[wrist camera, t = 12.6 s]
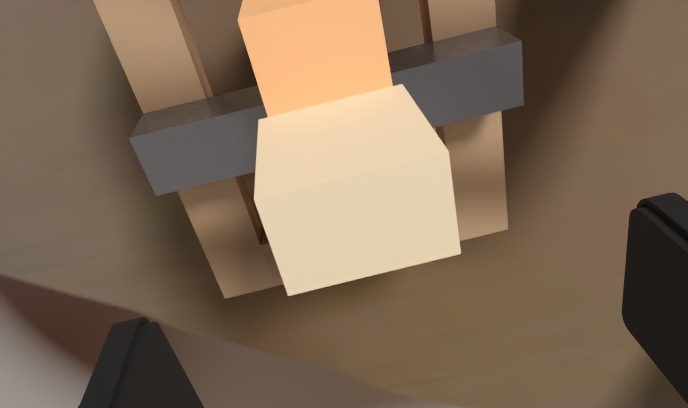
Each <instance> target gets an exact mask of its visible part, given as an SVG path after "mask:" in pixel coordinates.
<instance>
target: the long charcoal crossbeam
mask: <svg viewBox="0 0 688 408" xmlns="http://www.w3.org/2000/svg"><path fill="white" fill-rule="evenodd" d="M387 54H388V60H389V66H390V72H391V78H392V84H393V86H396V85H400V84H403V86H404V87H405V89H406V90H407V91H408V93H409V94H410V96H411V97H412V99H413V100H414V102H415V103H416V105H417V106H418V107H419V109H420V110H421V112H422V113H423V115H424V116H425V118H426V119H427V121H428V122H429V123H430V125H431V126H432V128H434V127H438V126H442V125H446V124H450V123H455V122H459V121H463V120H467V119H471V118H475V117H479V116H483V115H487V114H491V113H495V112H499V111H503V110H507V109H511V108H515V107H519V106H523V105H524V91H523V61H522V41H521V40H520V39H518V38H516V37H514V36H513V35H511V34H509V33H508V32H506V31H504V30H503V29H501V28H499V27H497V26H494V27H490V28H486V29H482V30H478V31H474V32H470V33H466V34H462V35H458V36H454V37H450V38H446V39H441V40H437V41H433V42H429V43H425V44H421V45H417V46H413V47H409V48H405V49H401V50H397V51H393V52H389V53H387ZM267 117H268V116H267V113H266V110H265V106H264V103H263V100H262V97H261V94H260V90H259V87H258V85H256V86H252V87H248V88H244V89H240V90H236V91H232V92H228V93H224V94H220V95H216V96H212V97H208V98H204V99H200V100H196V101H192V102H188V103H184V104H180V105H176V106H172V107H168V108H164V109H160V110H156V111H151V112H147V113H143V115H142V116H141V118H140V120H139V121H138V123H137V125H136V127H135V128H134V130H133V132H132V133H131V135H130V137H129V140H130V142H131V144H132V146H133V149H134V151H135V153H136V155H137V157H138V159H139V161H140V163H141V166H142V168H143V170H144V172H145V174H146V176H147V178H148V181H149V183H150V185H151V187H152V189H153V191H154V193H155V195H156V196H159V195H163V194H167V193H171V192H175V191H179V190H183V189H187V188H191V187H196V186H200V185H204V184H208V183H212V182H216V181H220V180H224V179H228V178H232V177H236V176H240V175H244V174H248V173H252V172H255V171H256V154H257V136H258V120H259V119H263V118H267Z"/></svg>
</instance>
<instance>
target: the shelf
mask: <svg viewBox="0 0 688 408" xmlns="http://www.w3.org/2000/svg"><path fill="white" fill-rule="evenodd" d="M93 1H94V4H95V6H96V8H97V10H98V13H99V15H100V17H101V19H102V22H103V24H104V26H105V28H106V31H107V33H108V35H109V37H110V40H111V42H112V44H113V47H114V49H115V51H116V53H117V56H118V58H119V60H120V62H121V65H122V67H123V69H124V71H125V74H126V76H127V78H128V80H129V83H130V85H131V87H132V90H133V92H134V94H135V96H136V99H137V101H138V103H139V105H140V108H141V110H142V112H143V113H147V112H151V111H156V110H160V109H164V108H168V107H172V106H176V105H180V104H184V103H188V102H192V101H196V100H200V99H204V98H208V97H212V96H213V93H212V90H211V88H210V85H209V82H208V79H207V76H206V74H205V71H204V68H203V65H202V63H201V60H200V57H199V54H198V51H197V49H196V46H195V43H194V40H193V38H192V35H191V32H190V29H189V26H188V24H187V21H186V18H185V15H184V13H183V10H182V7H181V4H180V1H179V0H93ZM419 3H420V11H421V18H422V26H423V34H424V42H425V43H429V42H433V41H437V40H441V39H446V38H450V37H454V36H458V35H462V34H466V33H470V32H474V31H478V30H482V29H486V28H490V27H494V26H496V11H495V0H419ZM433 129H434V131H435V132H436V134H437V135H438V136H439V138H440V139H441V141H442V142H443V144H444V145H445V147H446V148H447V150H448V151H449V157H450V166H451V174H452V182H453V191H454V199H455V208H456V216H457V225H458V233H459V241H462V240H466V239H471V238H475V237H479V236H483V235H487V234H491V233H495V232H499V231H503V230H507V229H508V219H507V202H506V185H505V167H504V150H503V133H502V115H501V111H499V112H495V113H491V114H487V115H483V116H479V117H475V118H471V119H467V120H463V121H459V122H455V123H450V124H446V125H442V126H438V127H434V128H433ZM254 188H255V172H252V173H248V174H244V175H240V176H236V177H232V178H228V179H224V180H220V181H216V182H212V183H208V184H204V185H200V186H196V187H191V188H187V189H183V190H179V191H178V194H179V196H180V198H181V200H182V203H183V205H184V207H185V209H186V212H187V214H188V216H189V218H190V221H191V223H192V225H193V228H194V230H195V232H196V234H197V237H198V239H199V241H200V243H201V246H202V248H203V250H204V252H205V255H206V257H207V259H208V261H209V264H210V266H211V268H212V271H213V273H214V275H215V277H216V280H217V282H218V284H219V286H220V289H221V291H222V293H223V295H224V298H225V299H226V298H230V297H234V296H238V295H242V294H247V293H251V292H255V291H259V290H263V289H267V288H271V287H275V286H279V285H283V284H284V283H283V280H282V277H281V274H280V272H279V269H278V266H277V263H276V260H275V258H274V255H273V252H272V249H271V246H270V243H269V241H268V238H267V235H266V232H265V229H264V227H263V224H262V221H261V218H260V215H259V213H258V210H257V207H256V204H255V201H254Z"/></svg>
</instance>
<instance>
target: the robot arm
mask: <svg viewBox="0 0 688 408" xmlns="http://www.w3.org/2000/svg"><path fill="white" fill-rule="evenodd" d="M622 317H623V320H624V323H625V325H626V327H627V329H628V330H629V332H630V333H631V334H632V335H633V337H634V338H635V339H636V340H637V342H638V343H639V344H640V345H641V347H642V348H643V349H644V350H645V352H646V353H647V354H648V355H649V357H650V358H651V359H652V360H653V362H654V363H655V364H656V365H657V367H658V368H659V369H660V370H661V372H662V373H663V374H664V375H665V376H666V378H667V379H668V380H669V381H670V383H671V384H672V385H673V386H674V388H675V389H676V390H677V391H678V393H679V394H680V395H681V396H682V398H683V399H684V400H685V401H686V403H687V404H688V201H686V200H685V199H684V198H682V197H681V196H680V195H678V194H676V193H667V194H663V195H658V196H654V197H650V198H646V199H642V200H640V201H639V203H638V204H637V208H636V209H633V210H632V211H631V212H630V216H629V229H628V241H627V253H626V266H625V278H624V290H623V303H622ZM78 408H204V407H203V405H202V403H201V401H200V399H199V397H198V396H197V394H196V392H195V390H194V388H193V386H192V384H191V383H190V381H189V379H188V377H187V375H186V373H185V371H184V370H183V368H182V366H181V364H180V362H179V360H178V359H177V357H176V355H175V353H174V351H173V349H172V347H171V346H170V344H169V342H168V340H167V338H166V337H165V334H164V333H163V331H162V329H161V327H160V326H159V324H158V323H157V322H152V323H150V322H149V320H148V319H147V318H145V317H141V318H136V319H132V320H128V321H123V322H119V323H115V324H114V325H112V327H111V329H110V331H109V333H108V336H107V338H106V341H105V344H104V346H103V348H102V351H101V353H100V356H99V358H98V361H97V363H96V366H95V369H94V371H93V373H92V376H91V378H90V381H89V383H88V386H87V388H86V391H85V393H84V396H83V398H82V401H81V403H80V405H79V406H78Z"/></svg>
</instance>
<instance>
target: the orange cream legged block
mask: <svg viewBox="0 0 688 408" xmlns="http://www.w3.org/2000/svg"><path fill="white" fill-rule="evenodd" d="M238 22H239V26H240V29H241V32H242V35H243V39H244V42H245V45H246V48H247V52H248V55H249V58H250V61H251V64H252V68H253V71H254V74H255V77H256V81H257V84H258V87H259V90H260V94H261V97H262V100H263V103H264V106H265V110H266V113H267V116H268V117H267V118H263V119H259V120H258V136H257V154H256V171H255V188H254V201H255V204H256V207H257V210H258V213H259V215H260V218H261V221H262V224H263V227H264V229H265V232H266V235H267V238H268V241H269V243H270V246H271V249H272V252H273V255H274V258H275V260H276V263H277V266H278V269H279V272H280V274H281V277H282V280H283V283H284V286H285V288H286V291H287V294H288V296H291V295H295V294H299V293H303V292H307V291H311V290H315V289H319V288H323V287H327V286H332V285H336V284H340V283H344V282H348V281H352V280H356V279H360V278H364V277H368V276H372V275H376V274H381V273H385V272H389V271H393V270H397V269H401V268H405V267H409V266H413V265H417V264H421V263H425V262H429V261H434V260H438V259H442V258H446V257H450V256H454V255H458V254H461V250H460V241H459V233H458V225H457V216H456V208H455V199H454V191H453V182H452V174H451V166H450V157H449V151H448V150H447V148H446V147H445V145H444V144H443V142H442V141H441V139H440V138H439V136H438V135H437V134H436V132H435V131H434V129H433V128H432V126H431V125H430V123H429V122H428V121H427V119H426V118H425V116H424V115H423V113H422V112H421V110H420V109H419V107H418V106H417V105H416V103H415V102H414V100H413V99H412V97H411V96H410V94H409V93H408V91H407V90H406V89H405V87H404V86H403V84H400V85H396V86H393V84H392V78H391V72H390V66H389V60H388V54H387V48H386V43H385V37H384V31H383V25H382V19H381V13H380V7H379V1H378V0H243V2H242V5H241V9H240V13H239V16H238Z"/></svg>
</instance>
